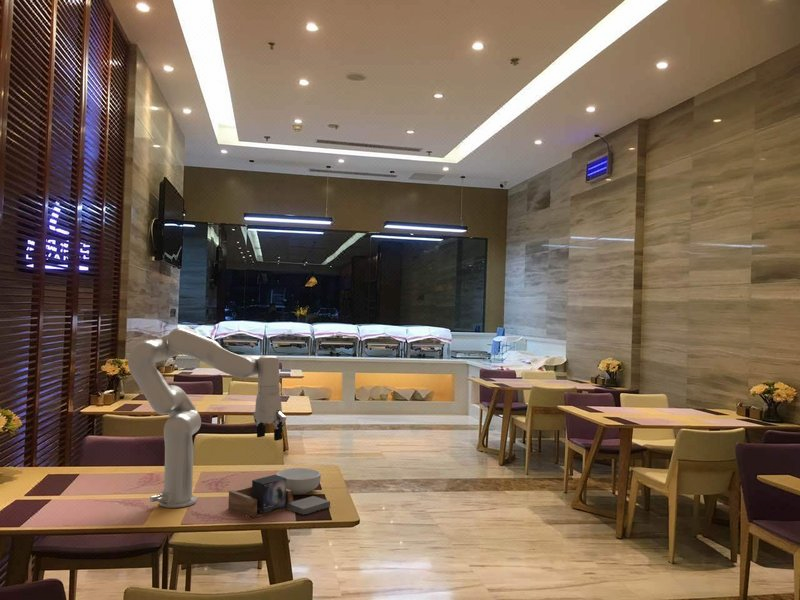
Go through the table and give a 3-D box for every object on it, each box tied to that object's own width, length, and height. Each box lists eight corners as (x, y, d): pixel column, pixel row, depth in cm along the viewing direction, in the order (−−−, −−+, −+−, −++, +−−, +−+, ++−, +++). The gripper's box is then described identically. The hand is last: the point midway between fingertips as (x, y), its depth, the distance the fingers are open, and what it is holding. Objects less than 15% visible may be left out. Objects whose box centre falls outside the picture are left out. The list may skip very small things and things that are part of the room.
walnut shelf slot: (252, 518, 201) (253, 500, 201) (228, 508, 210) (228, 491, 210) (291, 507, 213) (291, 490, 213) (266, 498, 222) (267, 482, 222)
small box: (262, 515, 202) (263, 483, 202) (249, 511, 206) (250, 480, 206) (286, 507, 210) (287, 477, 211) (273, 503, 214) (274, 474, 215)
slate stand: (303, 514, 205) (303, 508, 205) (286, 508, 211) (287, 503, 211) (330, 507, 214) (330, 501, 214) (313, 501, 220) (313, 495, 220)
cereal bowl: (300, 501, 220) (301, 481, 221) (266, 493, 229) (267, 474, 229) (329, 490, 235) (329, 471, 235) (296, 483, 244) (296, 465, 244)
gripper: (245, 389, 220) (246, 437, 219) (275, 393, 209) (276, 443, 208) (262, 387, 225) (262, 434, 225) (292, 390, 214) (293, 439, 214)
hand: (269, 438), depth 217 cm, fingers open, 9 cm apart
